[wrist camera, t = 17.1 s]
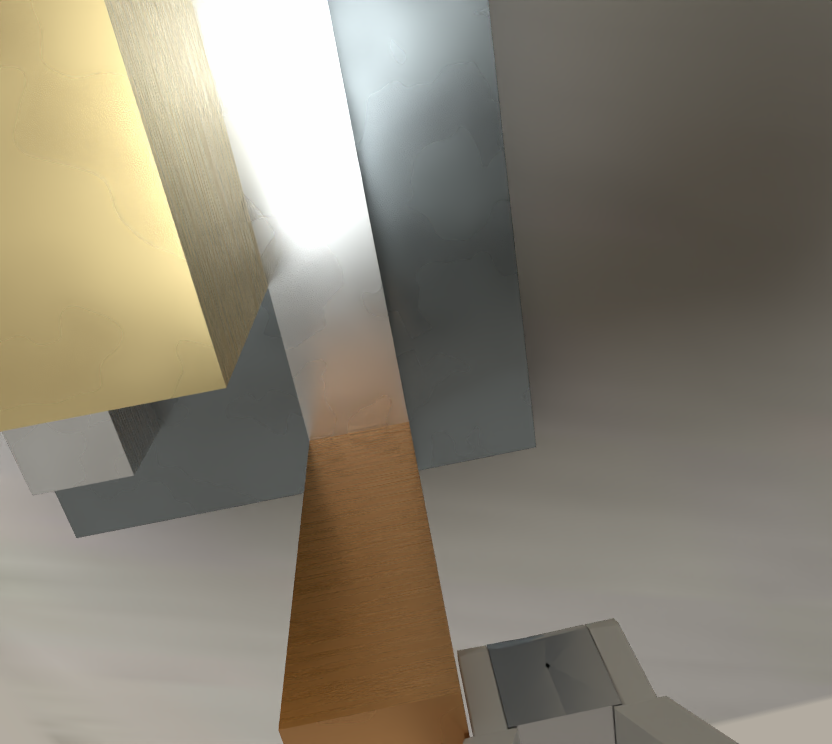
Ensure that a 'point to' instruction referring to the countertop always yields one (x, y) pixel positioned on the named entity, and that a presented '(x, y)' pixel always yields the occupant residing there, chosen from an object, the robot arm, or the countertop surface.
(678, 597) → the countertop surface
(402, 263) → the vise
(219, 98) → the sliding jaw
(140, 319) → the brass block
